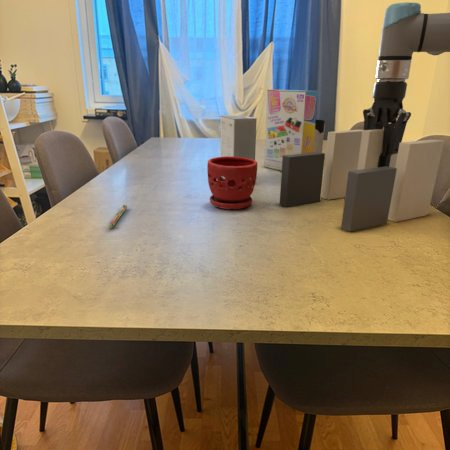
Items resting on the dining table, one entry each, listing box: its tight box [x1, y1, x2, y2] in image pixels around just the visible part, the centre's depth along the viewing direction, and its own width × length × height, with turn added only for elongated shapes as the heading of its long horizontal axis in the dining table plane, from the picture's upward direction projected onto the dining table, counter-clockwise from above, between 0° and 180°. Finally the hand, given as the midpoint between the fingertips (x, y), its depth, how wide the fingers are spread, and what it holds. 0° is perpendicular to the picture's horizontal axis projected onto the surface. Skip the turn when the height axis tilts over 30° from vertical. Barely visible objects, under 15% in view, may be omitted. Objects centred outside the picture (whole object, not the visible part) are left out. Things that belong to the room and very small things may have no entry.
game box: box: [264, 89, 319, 172], centre depth 155 cm, size 21×6×27 cm, turn 34°
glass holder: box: [313, 119, 326, 153], centre depth 185 cm, size 9×14×15 cm, turn 145°
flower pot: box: [206, 156, 258, 210], centre depth 115 cm, size 13×13×12 cm
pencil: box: [108, 204, 128, 229], centre depth 106 cm, size 1×1×18 cm
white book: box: [357, 128, 398, 170], centre depth 113 cm, size 2×12×18 cm, turn 120°
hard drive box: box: [220, 114, 258, 179], centre depth 142 cm, size 16×8×20 cm, turn 17°
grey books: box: [279, 152, 397, 233], centre depth 108 cm, size 27×12×13 cm, turn 30°
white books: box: [320, 129, 445, 223], centre depth 114 cm, size 27×12×18 cm, turn 30°
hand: (375, 179), depth 115 cm, fingers closed on white book, 2 cm apart
